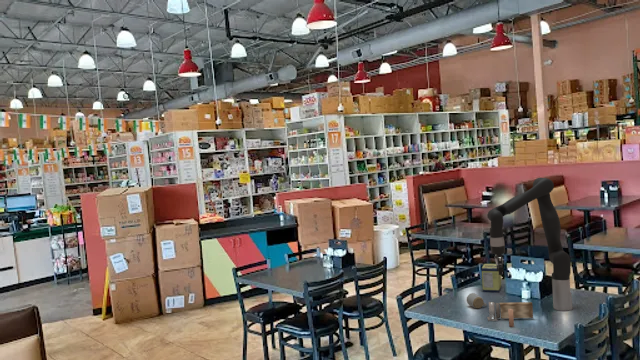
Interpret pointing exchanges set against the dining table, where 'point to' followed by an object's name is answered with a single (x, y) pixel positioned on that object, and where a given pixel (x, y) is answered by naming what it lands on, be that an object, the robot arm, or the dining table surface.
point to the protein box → (491, 278)
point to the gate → (515, 309)
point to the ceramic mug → (475, 301)
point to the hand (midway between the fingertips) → (500, 272)
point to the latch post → (511, 318)
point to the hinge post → (492, 312)
